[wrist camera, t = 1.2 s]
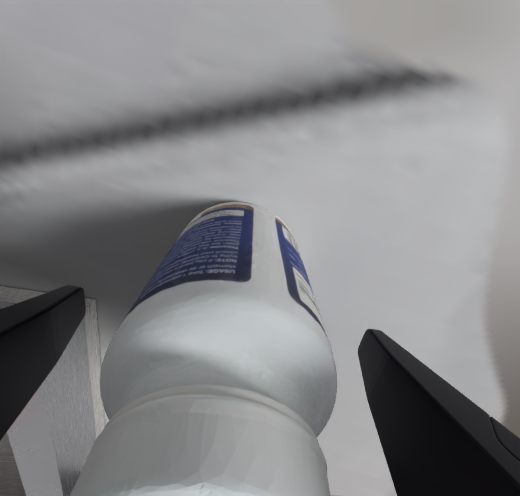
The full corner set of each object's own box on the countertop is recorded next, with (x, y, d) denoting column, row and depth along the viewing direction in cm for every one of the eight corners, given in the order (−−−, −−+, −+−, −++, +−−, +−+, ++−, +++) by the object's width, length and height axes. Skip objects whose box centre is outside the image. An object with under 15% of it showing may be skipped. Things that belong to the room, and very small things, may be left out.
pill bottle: (165, 284, 13) (-17, 611, 4) (199, 178, 11) (-12, 395, 2) (269, 318, 14) (289, 647, 5) (318, 227, 12) (482, 513, 3)
